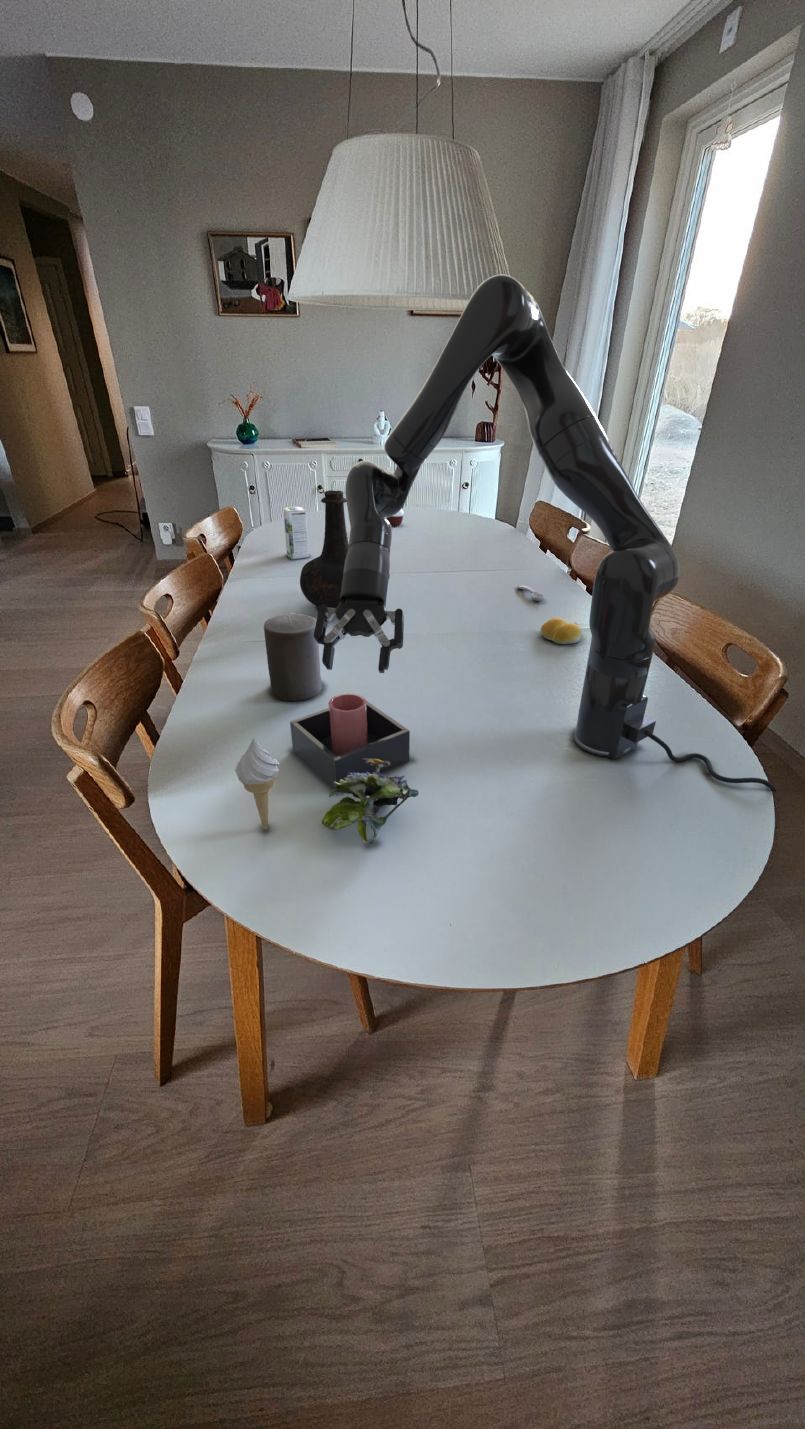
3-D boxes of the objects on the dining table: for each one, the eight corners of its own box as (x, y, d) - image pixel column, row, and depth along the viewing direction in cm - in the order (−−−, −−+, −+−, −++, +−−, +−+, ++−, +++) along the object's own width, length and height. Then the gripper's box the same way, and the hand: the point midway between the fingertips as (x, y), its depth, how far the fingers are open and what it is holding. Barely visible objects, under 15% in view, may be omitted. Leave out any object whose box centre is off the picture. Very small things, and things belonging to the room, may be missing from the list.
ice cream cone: (268, 810, 88) (256, 720, 81) (295, 827, 85) (285, 735, 78) (236, 831, 85) (220, 738, 77) (263, 849, 82) (249, 755, 74)
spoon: (535, 603, 159) (536, 595, 159) (515, 591, 170) (515, 584, 169) (546, 602, 160) (546, 594, 159) (525, 590, 170) (525, 583, 170)
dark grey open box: (409, 760, 99) (409, 730, 96) (337, 791, 92) (335, 760, 89) (361, 724, 109) (360, 696, 106) (292, 750, 102) (289, 721, 99)
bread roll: (566, 648, 136) (569, 631, 134) (534, 636, 142) (536, 619, 140) (589, 638, 141) (591, 622, 139) (556, 627, 146) (559, 611, 144)
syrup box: (286, 554, 196) (281, 507, 188) (304, 552, 198) (300, 505, 190) (291, 559, 191) (287, 511, 184) (309, 557, 193) (306, 509, 186)
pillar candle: (273, 704, 114) (264, 629, 107) (268, 681, 122) (260, 609, 115) (326, 698, 117) (320, 623, 109) (318, 675, 125) (312, 604, 117)
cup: (374, 753, 100) (373, 704, 95) (344, 766, 97) (341, 715, 92) (354, 738, 104) (352, 689, 99) (325, 749, 101) (321, 700, 96)
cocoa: (382, 527, 226) (382, 492, 220) (383, 523, 231) (382, 489, 225) (409, 527, 226) (409, 492, 220) (408, 523, 231) (408, 489, 225)
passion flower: (378, 835, 92) (424, 774, 89) (381, 879, 82) (433, 810, 79) (312, 799, 89) (358, 734, 86) (307, 839, 79) (358, 767, 76)
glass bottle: (295, 598, 162) (285, 486, 148) (360, 590, 168) (356, 481, 153) (311, 623, 148) (302, 501, 133) (382, 613, 153) (380, 495, 139)
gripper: (318, 564, 100) (305, 659, 96) (406, 568, 98) (396, 665, 94) (328, 585, 107) (316, 674, 103) (410, 589, 105) (401, 680, 102)
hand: (354, 670), depth 99 cm, fingers open, 8 cm apart
